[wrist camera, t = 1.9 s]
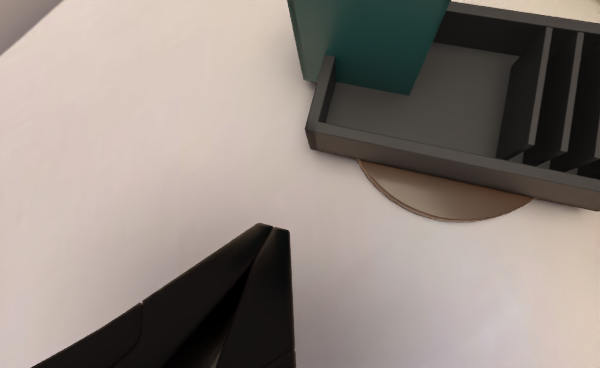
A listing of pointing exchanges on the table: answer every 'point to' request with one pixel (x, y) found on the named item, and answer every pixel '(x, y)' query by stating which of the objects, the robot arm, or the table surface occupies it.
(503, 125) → the dish rack
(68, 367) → the robot arm
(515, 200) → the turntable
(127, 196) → the table surface
